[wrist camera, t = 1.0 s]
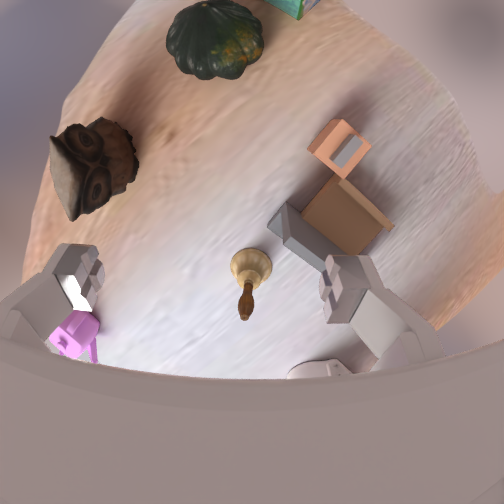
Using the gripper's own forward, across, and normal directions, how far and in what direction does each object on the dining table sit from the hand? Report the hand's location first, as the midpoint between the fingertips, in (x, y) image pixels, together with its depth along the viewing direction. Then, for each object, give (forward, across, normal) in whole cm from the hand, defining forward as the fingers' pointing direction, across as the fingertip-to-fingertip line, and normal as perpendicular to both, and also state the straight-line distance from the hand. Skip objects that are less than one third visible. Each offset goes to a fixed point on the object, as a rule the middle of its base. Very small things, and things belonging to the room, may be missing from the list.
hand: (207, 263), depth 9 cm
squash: (+44, -3, +8) cm, 45 cm away
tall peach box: (+38, +17, -7) cm, 42 cm away
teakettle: (+33, -44, -58) cm, 80 cm away
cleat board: (+34, +19, -21) cm, 45 cm away
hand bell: (+34, +4, -32) cm, 47 cm away
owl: (+42, -24, -12) cm, 50 cm away
